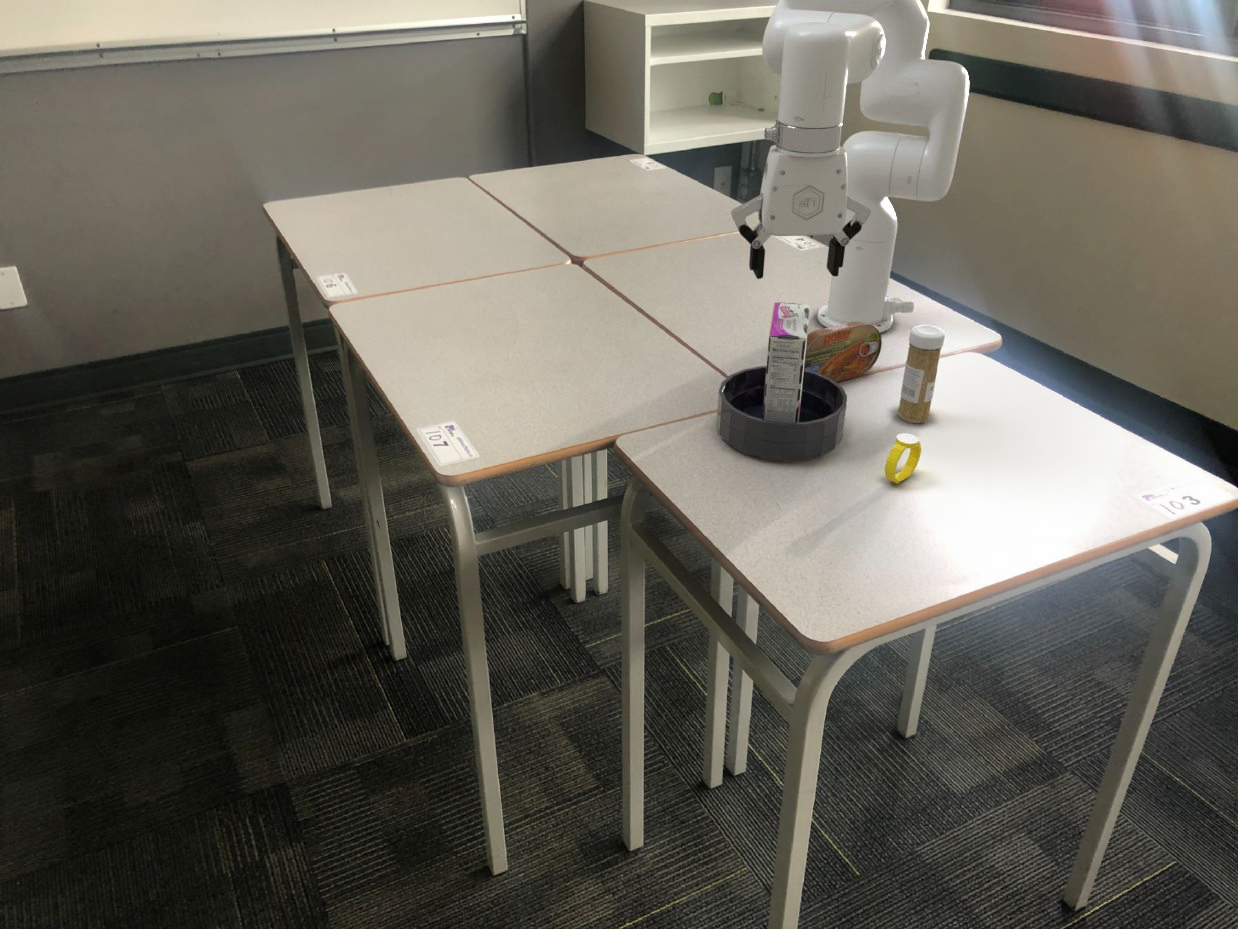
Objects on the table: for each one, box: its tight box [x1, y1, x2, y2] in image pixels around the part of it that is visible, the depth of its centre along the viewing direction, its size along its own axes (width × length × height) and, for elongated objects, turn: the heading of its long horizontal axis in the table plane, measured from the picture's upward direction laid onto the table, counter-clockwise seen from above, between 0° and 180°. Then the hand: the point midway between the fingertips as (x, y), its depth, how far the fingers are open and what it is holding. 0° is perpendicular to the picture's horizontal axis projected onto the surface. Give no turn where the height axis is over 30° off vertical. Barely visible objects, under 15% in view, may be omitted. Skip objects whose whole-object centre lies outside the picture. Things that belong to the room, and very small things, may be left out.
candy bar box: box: [763, 301, 810, 423], centre depth 133 cm, size 11×5×16 cm, turn 169°
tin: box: [804, 321, 883, 383], centre depth 150 cm, size 15×3×8 cm, turn 117°
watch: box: [884, 432, 922, 484], centre depth 126 cm, size 6×3×6 cm, turn 133°
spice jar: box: [896, 324, 946, 424], centre depth 138 cm, size 5×5×13 cm
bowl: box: [716, 365, 848, 462], centre depth 136 cm, size 17×17×6 cm
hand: (795, 273), depth 127 cm, fingers open, 9 cm apart
